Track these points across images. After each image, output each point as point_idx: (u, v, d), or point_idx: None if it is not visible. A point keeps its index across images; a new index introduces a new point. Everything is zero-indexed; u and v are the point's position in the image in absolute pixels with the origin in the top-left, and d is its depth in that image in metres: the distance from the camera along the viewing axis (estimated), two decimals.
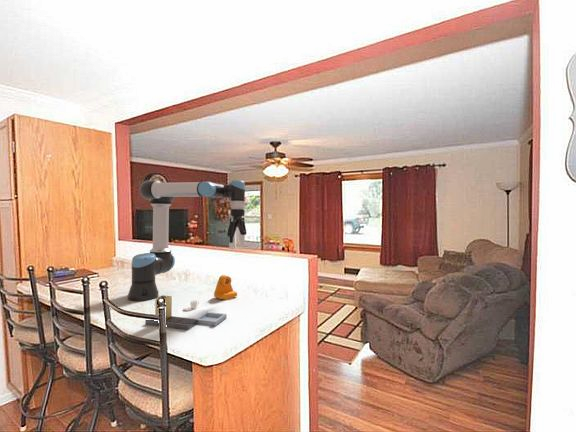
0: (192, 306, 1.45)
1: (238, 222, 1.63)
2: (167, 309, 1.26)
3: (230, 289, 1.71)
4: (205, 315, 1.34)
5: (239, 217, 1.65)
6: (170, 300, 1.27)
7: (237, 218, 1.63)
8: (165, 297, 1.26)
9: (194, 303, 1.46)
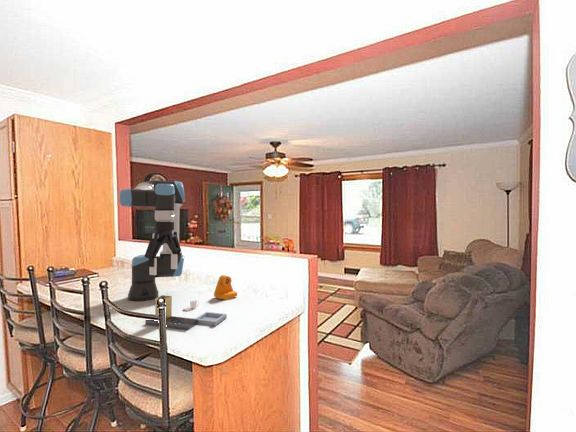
0: (192, 306, 1.45)
1: (164, 239, 1.23)
2: (167, 309, 1.26)
3: (230, 289, 1.71)
4: (205, 315, 1.34)
5: (166, 232, 1.26)
6: (170, 300, 1.27)
7: (162, 233, 1.23)
8: (165, 297, 1.26)
9: (194, 303, 1.46)
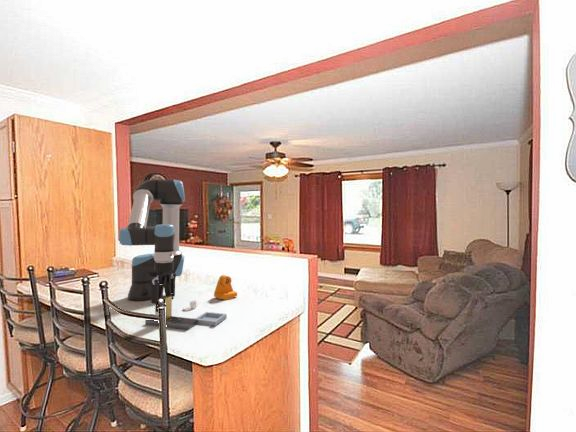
0: (191, 306, 1.46)
1: (164, 281, 1.24)
2: (167, 309, 1.26)
3: (230, 289, 1.71)
4: (205, 315, 1.34)
5: (166, 272, 1.26)
6: (170, 300, 1.27)
7: (161, 274, 1.23)
8: (165, 297, 1.26)
9: (193, 303, 1.46)
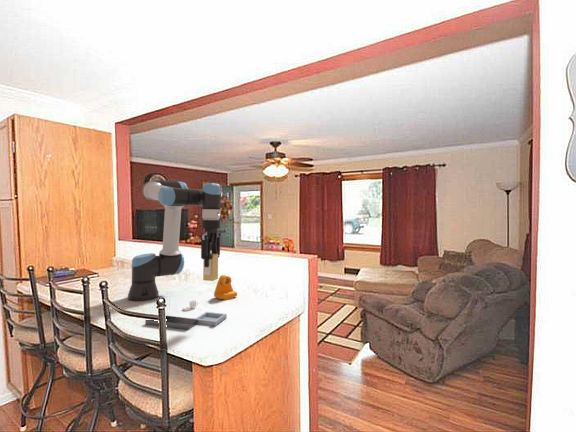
0: (191, 306, 1.46)
1: (212, 238, 1.28)
2: (215, 265, 1.30)
3: (230, 289, 1.71)
4: (205, 315, 1.34)
5: (213, 230, 1.30)
6: (217, 257, 1.31)
7: (210, 231, 1.27)
8: (212, 254, 1.30)
9: (193, 303, 1.46)
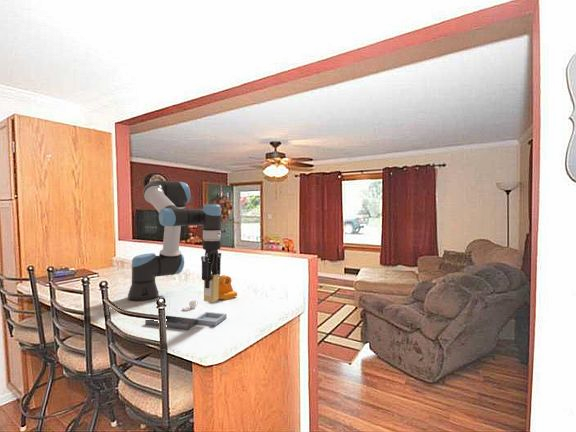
0: (191, 306, 1.46)
1: (212, 259, 1.28)
2: (215, 286, 1.30)
3: (230, 289, 1.71)
4: (205, 315, 1.34)
5: (214, 251, 1.30)
6: (218, 277, 1.32)
7: (210, 252, 1.28)
8: (213, 274, 1.30)
9: (193, 303, 1.46)
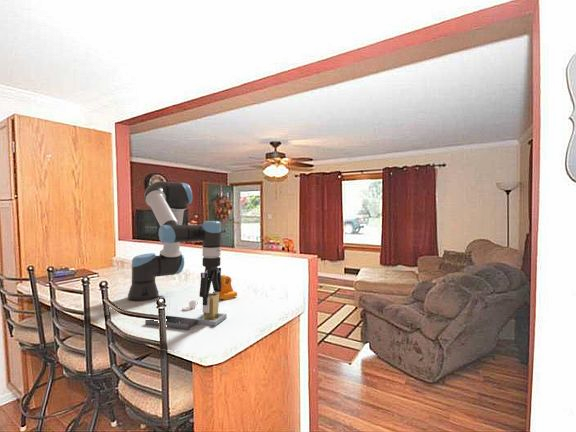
0: (191, 306, 1.46)
1: (212, 275, 1.28)
2: (215, 306, 1.30)
3: (230, 289, 1.71)
4: None
5: (213, 267, 1.30)
6: (217, 297, 1.32)
7: (210, 269, 1.28)
8: (213, 295, 1.30)
9: (193, 303, 1.46)
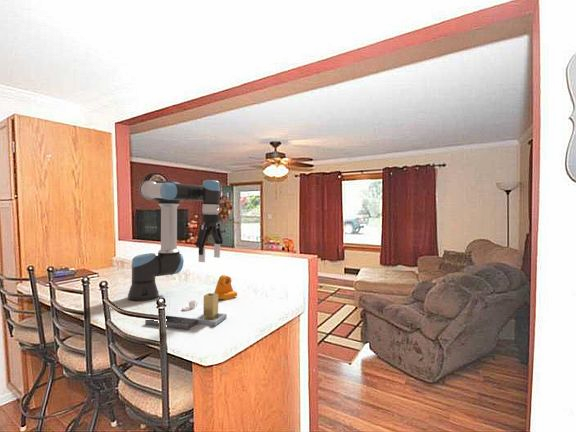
0: (190, 306, 1.46)
1: (210, 230, 1.37)
2: (215, 306, 1.30)
3: (230, 289, 1.71)
4: None
5: (212, 224, 1.39)
6: (217, 297, 1.32)
7: (209, 225, 1.37)
8: (213, 295, 1.30)
9: (192, 303, 1.46)
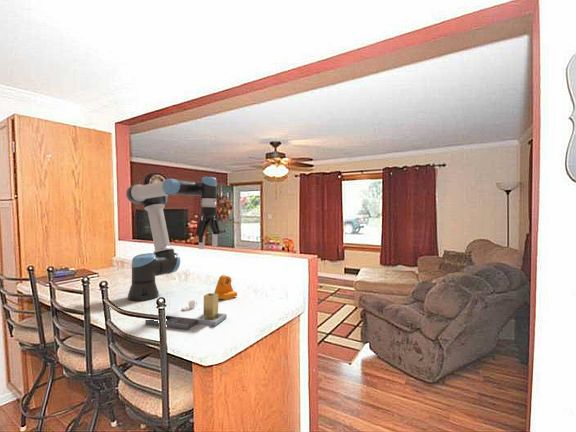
0: (190, 306, 1.46)
1: (209, 221, 1.55)
2: (215, 306, 1.30)
3: (230, 289, 1.71)
4: None
5: (210, 215, 1.57)
6: (217, 297, 1.32)
7: (208, 216, 1.55)
8: (213, 295, 1.30)
9: (192, 303, 1.46)
